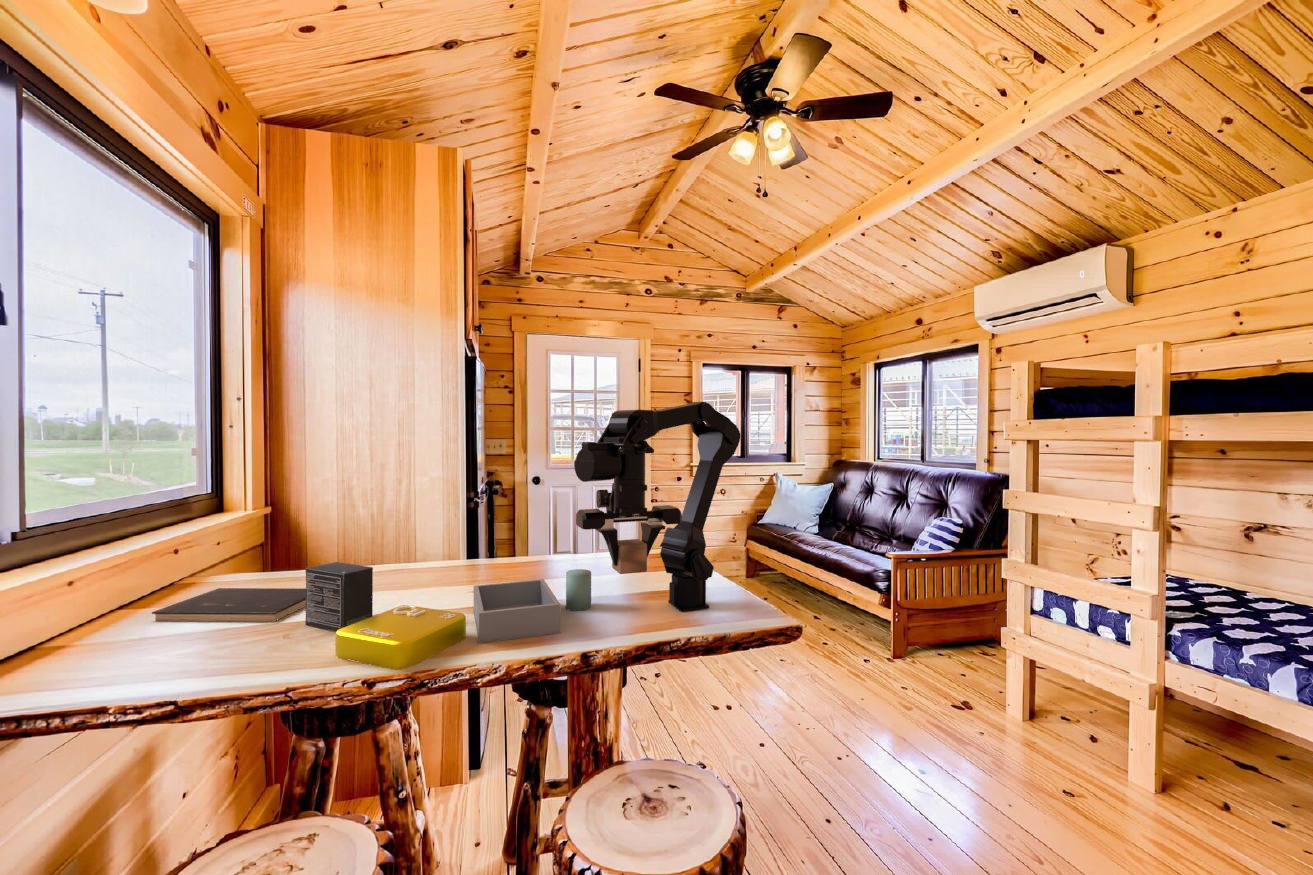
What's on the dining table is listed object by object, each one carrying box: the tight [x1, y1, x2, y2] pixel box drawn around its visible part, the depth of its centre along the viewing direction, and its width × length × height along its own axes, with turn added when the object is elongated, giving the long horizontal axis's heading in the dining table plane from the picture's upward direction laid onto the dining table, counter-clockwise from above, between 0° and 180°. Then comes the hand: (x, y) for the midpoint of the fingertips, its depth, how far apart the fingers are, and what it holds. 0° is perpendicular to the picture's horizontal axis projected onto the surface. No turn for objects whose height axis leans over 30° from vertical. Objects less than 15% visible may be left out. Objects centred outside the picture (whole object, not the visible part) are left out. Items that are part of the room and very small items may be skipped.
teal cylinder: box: [565, 568, 592, 612], centre depth 112 cm, size 5×5×7 cm
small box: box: [305, 561, 374, 632], centre depth 102 cm, size 11×6×10 cm, turn 65°
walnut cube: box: [611, 538, 648, 575], centre depth 102 cm, size 5×5×5 cm
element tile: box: [334, 604, 467, 671], centre depth 92 cm, size 15×15×5 cm
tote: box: [473, 578, 561, 644], centre depth 103 cm, size 14×18×5 cm
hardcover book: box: [151, 587, 306, 622], centre depth 111 cm, size 16×23×2 cm
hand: (629, 563), depth 102 cm, fingers closed on walnut cube, 5 cm apart
